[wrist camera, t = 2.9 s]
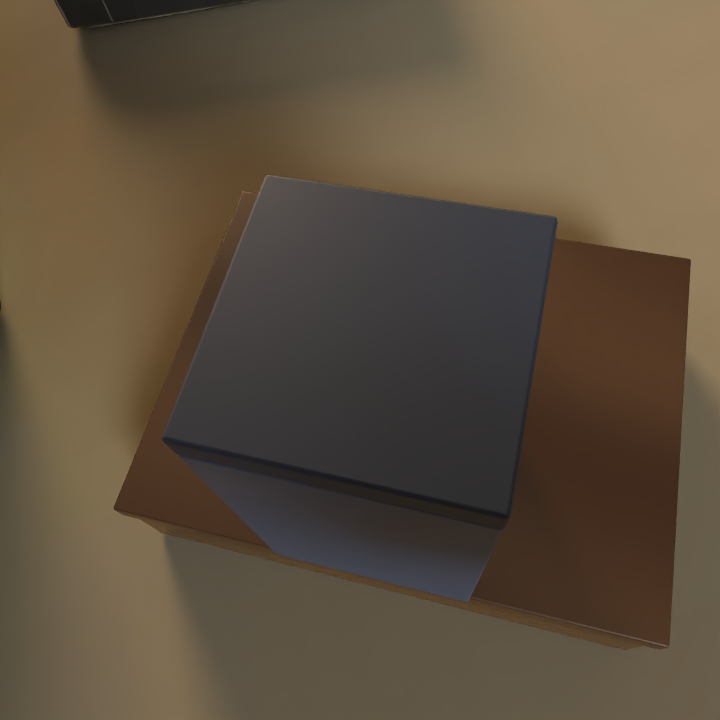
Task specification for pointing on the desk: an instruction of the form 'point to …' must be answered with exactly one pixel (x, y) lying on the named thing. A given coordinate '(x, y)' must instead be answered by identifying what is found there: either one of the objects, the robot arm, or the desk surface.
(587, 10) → the desk surface
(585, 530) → the brown flat block
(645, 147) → the desk surface
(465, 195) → the desk surface
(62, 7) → the disk drive
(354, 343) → the small box
